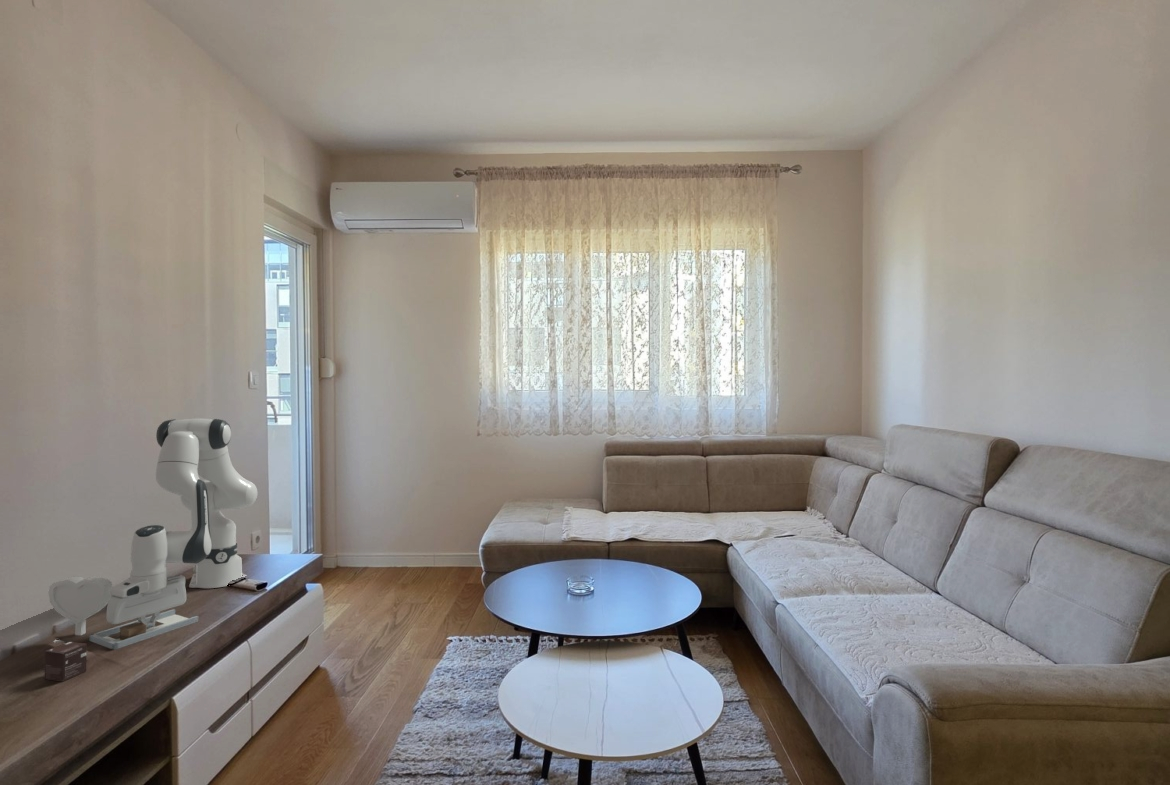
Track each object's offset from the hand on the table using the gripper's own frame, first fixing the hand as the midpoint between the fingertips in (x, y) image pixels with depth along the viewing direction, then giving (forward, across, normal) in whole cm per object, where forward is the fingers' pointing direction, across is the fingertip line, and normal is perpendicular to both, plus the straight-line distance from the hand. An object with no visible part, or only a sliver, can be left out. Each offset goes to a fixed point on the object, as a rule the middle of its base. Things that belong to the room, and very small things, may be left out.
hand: (148, 628), depth 176 cm
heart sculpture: (+3, +9, -16) cm, 19 cm away
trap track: (+3, -1, -3) cm, 4 cm away
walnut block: (+1, +4, 0) cm, 4 cm away
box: (+3, +23, +6) cm, 24 cm away
